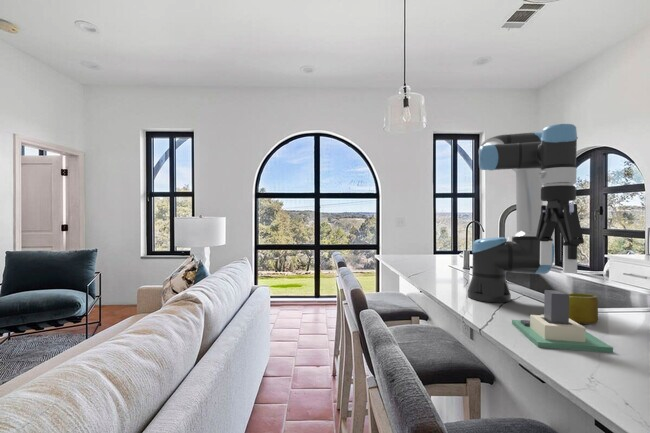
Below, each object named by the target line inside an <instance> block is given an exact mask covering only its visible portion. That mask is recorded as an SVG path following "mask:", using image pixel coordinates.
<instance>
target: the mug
mask: <svg viewBox="0 0 650 433" xmlns="http://www.w3.org/2000/svg"><path fill="white" fill-rule="evenodd" d="M566 293H567V292H566ZM567 294H569V319H571V320H573V321H575V322H576V323H578V324H580V325H582V324H583V325H591V324H597V323H599V300H598V299H599V298H598V296H597V295H595V294H589V293H583V292H582V293H579V292H574V293H573V292H572V293H567Z"/></svg>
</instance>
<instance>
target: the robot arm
mask: <svg viewBox="0 0 650 433" xmlns="http://www.w3.org/2000/svg"><path fill="white" fill-rule="evenodd" d="M577 132H578V131H577V126H576V125H574V124H572V123H558V124H552V125H548V126H545V127H543V129H541V131H539V132H538V131H537V132H535V131H531V132H523V133H522V132H521V133H510V134H500V135H496V136H493V137H489V138H487V139H485V140H484V141H483V142H481V144H480V145H479V148H478V149H477V150H478V168H479V169H480V170H482V171H496V170H498V171H499V170H512V171H514V172H515V190H516V191H515V193H516V194H515V200H516V207H515V209H516V214H515V215H516V217H515V218H516V232H515V233H514V235H513V236H512V238H511V241H508V240H507V238H506V237H502V236H501V237H488V238H479V239H476V240H474V241H473V242H472V250H471V253H472V268H471V269H472V278H471V280H470V282H469V284H468V288H467V293H466V294H467V298H470V299H472V300H475V301H479V302H480V301H481V302H486V303H500V304H501V303H509V302H511V300H512V299H511V298H512V297H511V296H512V294H511V291H510V289H509V288H510V287H509V285H508V283H507V278H506V276H507V274H506V273H515V274H516V273H517V274H518V273H519V274H529V275H531V274H532V275H546V274H549V272H550V271H551V269H552V267H553V265H554V259H555V244H554V243H553V241H554V240H553V238H552V236H553V234H554V232H555V230H556V226H557V224H558V227H559V230H560V233H561V235H562V238H563V243H561V244H562V246H563V248H562V252H563V253H562V254H563V255H562V273H563V274H578V247H579V246H580V245H583V244H584V243H585V241H584V235H583V232H582V227H581V222H580V219H579V215H578V204H577V203H570V202H572V201H573V202H574V201H575V200H576V199H577V187H576V186H575V184H576V183H577V148H578V147H577V146H578V143H577V140H578V138H579V137H578V135H577V134H578V133H577ZM543 202H547V203H546V205H545V204H544V205H543Z"/></svg>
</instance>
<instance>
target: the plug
mask: <svg viewBox="0 0 650 433" xmlns="http://www.w3.org/2000/svg"><path fill="white" fill-rule="evenodd" d="M543 294H544V299H543V300H544V301H543V303H544V306H543V308H544V311H543V314H544V320H545V321H547V322H548V323H550V324H565V325H569V294H570V293H568V294H567V292H565V291H562V290H553V289H552V290H548V289H544V293H543Z"/></svg>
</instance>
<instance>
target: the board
mask: <svg viewBox="0 0 650 433" xmlns="http://www.w3.org/2000/svg"><path fill="white" fill-rule="evenodd" d="M511 325H513V326H514V327H515V328H516V329H517V330H518V331H519V332H520V333H522V335H524V336H525V337H526V338H527V339H528V340H529V341H530V342H532V343H533V344H534V345H535V346H536V347H537V348H542V349H543V348H545V349H556V350H557V349H559V350H571V351H585V352H597V353H610V354H611V353H612V354H613V353H614V347H613V346H611V345H610V344H608V343H606V342H604V340H601V339H600V338H598V337H596V336H594V335H592V334H591V333H589V332H588V331H587V330H586V327H585V326H583V325H582V324H580V323H579V324H578V323H576V322H575V321H573V320H571V319H569V325H565V324H550V323H548V322H547V321H545V320H544V313H543V314H540V315H538V314H530V316H529V319H527V320H526V319H511Z"/></svg>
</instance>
